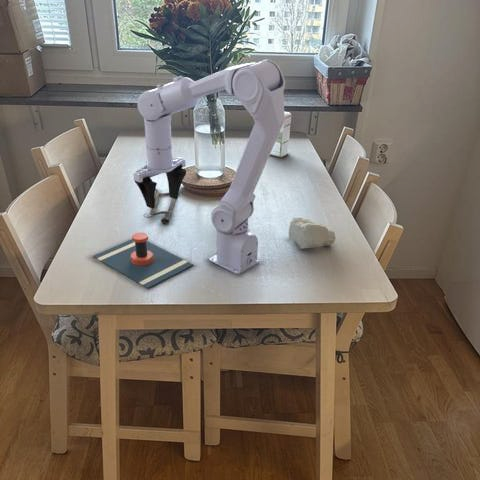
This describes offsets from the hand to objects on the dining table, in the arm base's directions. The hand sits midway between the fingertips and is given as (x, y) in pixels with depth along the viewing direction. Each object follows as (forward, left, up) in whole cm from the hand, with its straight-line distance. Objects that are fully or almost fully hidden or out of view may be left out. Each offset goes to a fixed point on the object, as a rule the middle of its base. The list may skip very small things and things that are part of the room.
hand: (162, 202), depth 123 cm
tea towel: (-4, +11, -10) cm, 15 cm away
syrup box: (+20, -73, -11) cm, 77 cm away
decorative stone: (-28, -25, -11) cm, 39 cm away
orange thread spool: (-4, +11, -10) cm, 15 cm away
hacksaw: (+17, -12, -11) cm, 24 cm away
